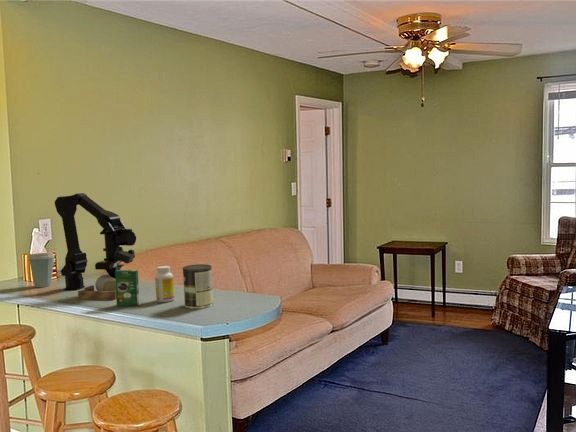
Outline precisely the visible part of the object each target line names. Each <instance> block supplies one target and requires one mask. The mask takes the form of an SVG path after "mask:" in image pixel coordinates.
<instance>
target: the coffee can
mask: <svg viewBox="0 0 576 432" xmlns="http://www.w3.org/2000/svg"><path fill="white" fill-rule="evenodd" d="M182 275H183V276H182V278H183V279H182V280H183V293H184V294H183V295H184V297H183V298H184V299H183V300H184V307H185V308H187V309H189V310H190V309H191V310H198V309H206V308H210V307H212V306H213V305H214V300H213V299H214V298H213V297H214V296H213V276H212V275H213V274H212V265H210V264H205V263H203V264H200V263H199V264H189V265H185V266H182Z"/></svg>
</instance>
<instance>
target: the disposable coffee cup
mask: <svg viewBox="0 0 576 432" xmlns="http://www.w3.org/2000/svg"><path fill="white" fill-rule="evenodd" d="M55 257H56V256H55V254H54V252H37V253H30V254H29V256H28V261H29V265H30V270H31V275H32V279H33V285H34V287H35V288H47V286H48V287H50V286H51V284H52V281H53V280H52V279H53V272H54V270H53V269H54V264H55V263H54V262H55Z"/></svg>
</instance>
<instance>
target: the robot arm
mask: <svg viewBox="0 0 576 432" xmlns="http://www.w3.org/2000/svg"><path fill="white" fill-rule="evenodd" d="M77 206H80V207H82V208H83V209H84V210H85V211H86V212H87V213H89V214H91V216H93V217H94V218H96V221H97V223H98V225H100V226H101V228H103V229H102V230H101V231H100V233H99V234H100V235H103V236H104V237H103V238H104V248H102V250H103V251H102V252H105V258H103V260H100V261H97V262H96V263H95V264H94V269H95V270H98V271H99V270H105V271H106V274H107V275H109V276H111V277H113V278H115V279H116V277H115V271H116V270H122V268H123V267H124V266H125V264H130V263H133V261H134V259H135V258H136V254H135V250H134V249H129V250H124V249H123V247H122V246H126V247H127V246H129V247H132V246H134V245H135V244H136V242H137V236H136V234H135V232H134V231H133V228H127V227H126V226H125V224H124V222H123V221H122V220H121V217H120V215H119V214H117V213H115V212H113V211H109V210H106V209H105V208H104V207H102V206H101V205H99V204H98V203H96V202H95V201H94V200H93V199H91V197H89V196H88V195H87V194H86V193H83V192H81V193H80V192H79V193H74V194H71V195H65V196H57V197H56V199H55V200H54V207H55V209H56V212H57V214H58V215H59V217H60V218H61V222H62V226H63V232H64V237H65V243H66V248H67V253H66V255H65V257H64V260H65V261H64V263H65V264H64V266H63V267H62V268H61V269H60V274H61V276H62V277H63V276H64V282H65V287H63V290H65V291H66V290H67V291H68V290H69V291H77V290H78V291H79V290H81V289H83V288H86V285H84V277H83V274H84V273H85V272H86V267H87V266H88V262H89V261H88V259H87V252H83V251H82V250H81V247H80V243H79V242H80V241H79V237H78V231H77V224H76V218H75V215H76V212H77V210H78V209H77V208H78V207H77ZM122 262H123V264H122Z"/></svg>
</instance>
